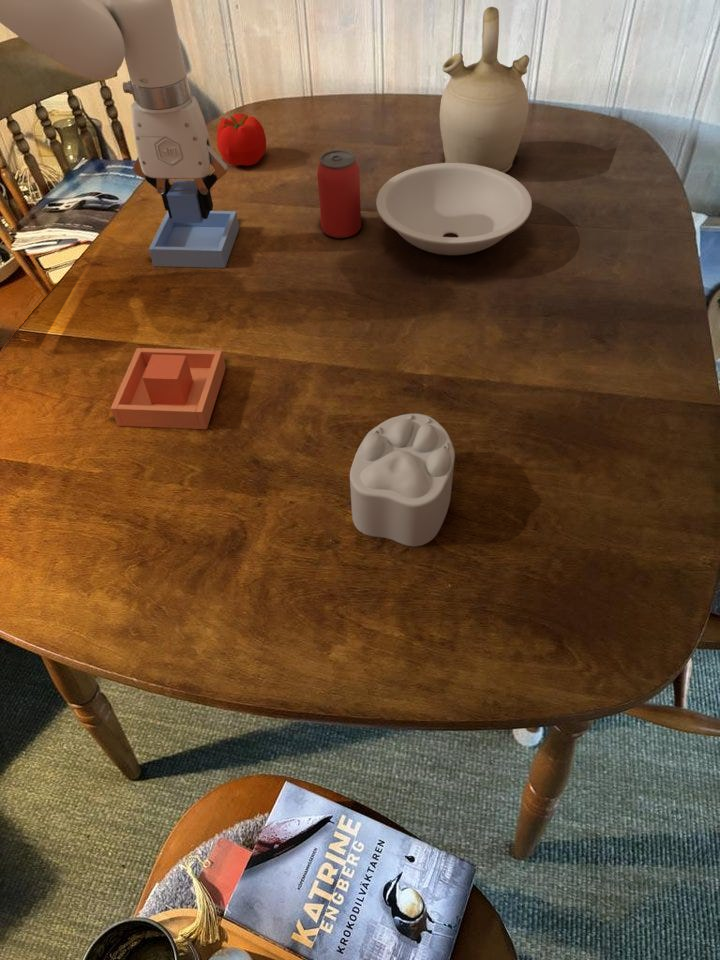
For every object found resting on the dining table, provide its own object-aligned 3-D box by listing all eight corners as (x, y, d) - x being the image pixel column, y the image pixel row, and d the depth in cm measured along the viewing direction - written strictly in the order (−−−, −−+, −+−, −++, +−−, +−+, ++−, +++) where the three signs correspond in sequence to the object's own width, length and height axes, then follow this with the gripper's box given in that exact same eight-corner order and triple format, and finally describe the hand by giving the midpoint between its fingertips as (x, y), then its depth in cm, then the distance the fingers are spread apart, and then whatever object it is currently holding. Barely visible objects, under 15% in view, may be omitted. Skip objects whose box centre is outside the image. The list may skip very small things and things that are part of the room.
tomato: (242, 145, 139) (235, 105, 134) (277, 157, 136) (272, 116, 130) (209, 165, 135) (200, 124, 129) (244, 177, 131) (237, 136, 125)
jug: (425, 176, 129) (431, 19, 110) (451, 139, 138) (461, -13, 119) (508, 190, 125) (530, 30, 106) (529, 150, 134) (553, -4, 115)
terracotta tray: (117, 425, 91) (110, 408, 89) (142, 365, 98) (136, 347, 96) (207, 429, 90) (202, 412, 88) (225, 368, 97) (221, 350, 95)
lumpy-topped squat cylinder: (342, 528, 79) (338, 478, 73) (379, 446, 87) (378, 393, 81) (433, 552, 77) (437, 502, 70) (462, 465, 85) (468, 413, 78)
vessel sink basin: (538, 211, 121) (544, 173, 116) (509, 293, 106) (515, 253, 101) (401, 191, 126) (401, 154, 121) (356, 266, 112) (354, 228, 107)
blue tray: (153, 266, 114) (148, 249, 111) (171, 226, 121) (167, 209, 119) (225, 268, 113) (221, 250, 110) (239, 228, 120) (236, 210, 118)
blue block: (173, 222, 111) (166, 195, 108) (180, 207, 114) (173, 180, 111) (201, 223, 111) (195, 195, 108) (208, 207, 114) (202, 180, 110)
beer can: (350, 215, 122) (347, 144, 113) (368, 233, 118) (366, 161, 109) (315, 225, 120) (309, 154, 111) (331, 244, 116) (326, 172, 107)
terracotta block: (151, 404, 92) (142, 377, 89) (160, 380, 95) (151, 354, 92) (185, 405, 92) (177, 379, 89) (193, 381, 95) (186, 355, 92)
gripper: (93, 103, 97) (131, 226, 111) (216, 103, 95) (239, 228, 109) (110, 80, 102) (145, 201, 116) (227, 79, 100) (248, 202, 114)
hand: (190, 213), depth 112 cm, fingers closed on blue block, 4 cm apart
